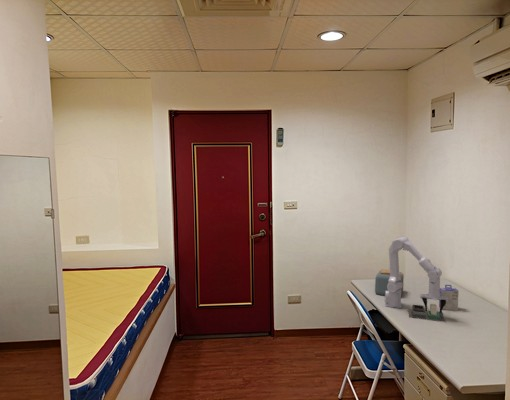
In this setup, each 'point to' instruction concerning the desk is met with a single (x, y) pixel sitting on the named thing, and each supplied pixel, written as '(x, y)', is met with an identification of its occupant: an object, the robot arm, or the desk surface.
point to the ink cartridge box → (450, 297)
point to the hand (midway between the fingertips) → (433, 311)
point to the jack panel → (424, 313)
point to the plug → (433, 309)
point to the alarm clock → (384, 281)
